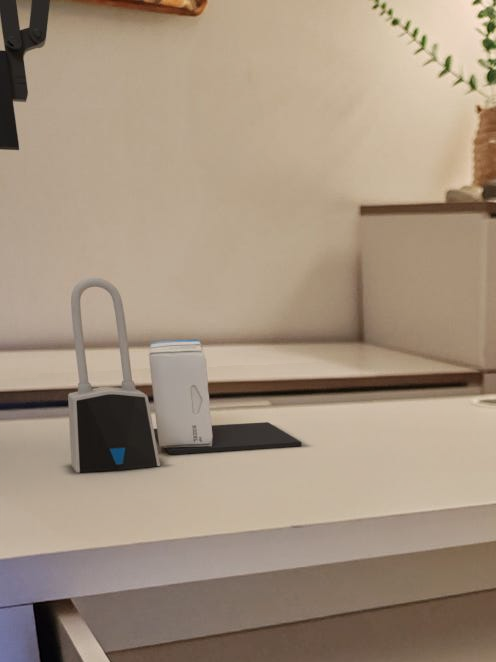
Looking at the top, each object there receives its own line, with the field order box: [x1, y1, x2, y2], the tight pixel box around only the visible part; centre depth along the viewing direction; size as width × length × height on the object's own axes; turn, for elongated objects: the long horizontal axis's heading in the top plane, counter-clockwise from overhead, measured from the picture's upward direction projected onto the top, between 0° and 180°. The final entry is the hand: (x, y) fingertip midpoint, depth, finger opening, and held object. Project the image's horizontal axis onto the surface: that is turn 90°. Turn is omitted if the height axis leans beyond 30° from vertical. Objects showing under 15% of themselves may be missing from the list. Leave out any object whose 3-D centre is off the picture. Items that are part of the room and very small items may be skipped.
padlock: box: [67, 277, 161, 474], centre depth 84 cm, size 7×4×15 cm, turn 117°
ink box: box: [148, 339, 213, 448], centre depth 97 cm, size 9×5×12 cm
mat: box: [154, 421, 302, 456], centre depth 100 cm, size 13×12×1 cm
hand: (8, 147), depth 80 cm, fingers closed
